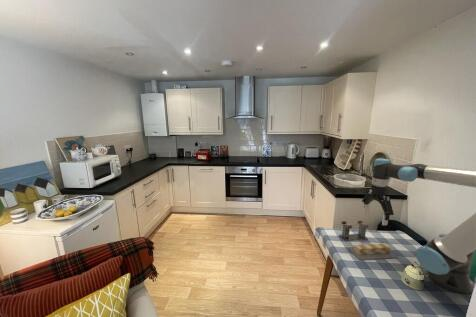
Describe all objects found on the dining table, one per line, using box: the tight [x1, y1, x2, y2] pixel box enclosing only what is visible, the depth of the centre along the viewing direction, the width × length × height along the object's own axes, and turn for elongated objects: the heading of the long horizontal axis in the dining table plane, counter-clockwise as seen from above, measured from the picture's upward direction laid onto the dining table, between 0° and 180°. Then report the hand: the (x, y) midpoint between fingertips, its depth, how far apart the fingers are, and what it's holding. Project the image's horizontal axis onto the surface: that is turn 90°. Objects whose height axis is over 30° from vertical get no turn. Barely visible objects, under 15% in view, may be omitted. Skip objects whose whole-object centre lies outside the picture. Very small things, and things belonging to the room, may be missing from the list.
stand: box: [338, 220, 370, 242], centre depth 133 cm, size 17×6×11 cm, turn 96°
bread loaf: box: [354, 242, 391, 255], centre depth 118 cm, size 20×4×4 cm, turn 96°
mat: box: [346, 246, 399, 261], centre depth 118 cm, size 24×11×1 cm, turn 96°
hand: (374, 219), depth 116 cm, fingers open, 13 cm apart
